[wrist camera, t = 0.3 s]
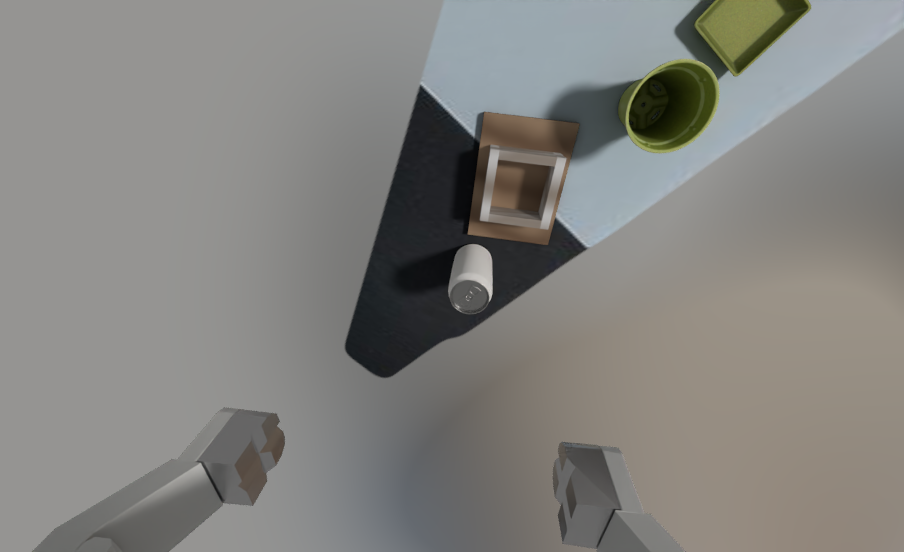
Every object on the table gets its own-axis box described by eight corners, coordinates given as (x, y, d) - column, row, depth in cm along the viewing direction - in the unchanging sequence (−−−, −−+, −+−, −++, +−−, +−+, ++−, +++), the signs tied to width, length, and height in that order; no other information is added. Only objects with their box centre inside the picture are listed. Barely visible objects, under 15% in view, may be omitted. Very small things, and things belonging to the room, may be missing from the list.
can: (447, 264, 60) (438, 302, 49) (467, 235, 57) (462, 269, 46) (477, 283, 61) (475, 323, 50) (499, 256, 58) (501, 293, 47)
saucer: (725, 78, 43) (736, 78, 41) (683, 26, 41) (692, 24, 39) (798, 11, 40) (813, 7, 38) (756, -50, 37) (769, -57, 36)
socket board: (484, 111, 48) (483, 114, 43) (577, 122, 47) (587, 126, 43) (468, 230, 57) (466, 244, 52) (546, 241, 56) (551, 255, 52)
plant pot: (641, 156, 48) (669, 169, 41) (588, 118, 47) (607, 124, 39) (696, 91, 44) (739, 92, 36) (641, 47, 42) (674, 38, 35)
